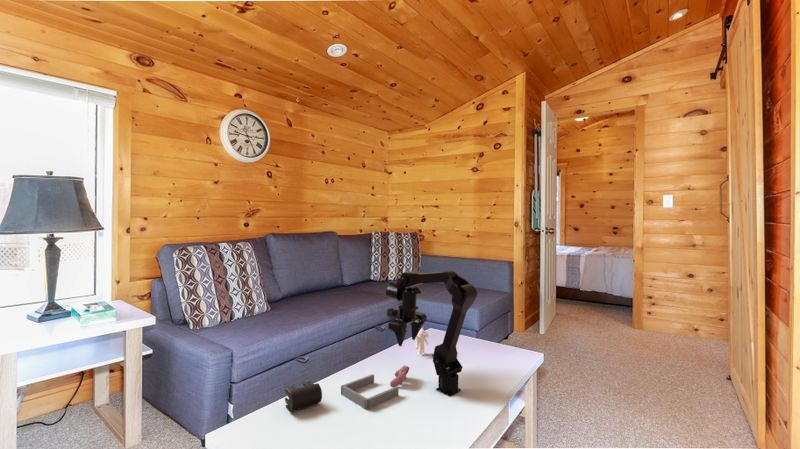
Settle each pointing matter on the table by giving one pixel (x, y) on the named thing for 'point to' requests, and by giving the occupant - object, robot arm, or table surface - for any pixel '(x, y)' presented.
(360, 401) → the sorting bay
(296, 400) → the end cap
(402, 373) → the pink curved piece
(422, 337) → the flower shoulder figurine
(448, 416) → the table surface
